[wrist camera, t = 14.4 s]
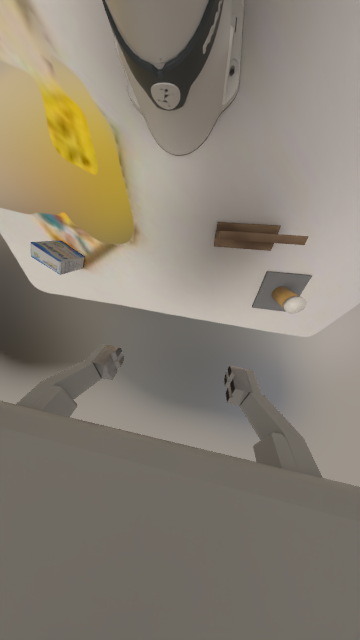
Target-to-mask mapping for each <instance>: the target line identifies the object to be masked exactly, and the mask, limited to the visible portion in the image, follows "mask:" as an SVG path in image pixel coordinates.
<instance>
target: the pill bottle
mask: <svg viewBox="0 0 360 640" xmlns="http://www.w3.org/2000/svg"><path fill="white" fill-rule="evenodd" d="M271 296H272V298H273V299H274V300H275V301H276V302H277V303H279V304H280V305H281V306H282V307H283V309H284V310H285V311H286V312H288V313H297V312H299V311H301V310H303V309H304V307H305V306H306V300H305V299H303V298H302V297H300V296H298V295H296V294H295V293H293V292H292V291H290V290H289V289H287V288H286V287H278V288H276V289H274V290H273V292H272V294H271Z"/></svg>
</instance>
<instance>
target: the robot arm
mask: <svg viewBox="0 0 360 640" xmlns="http://www.w3.org/2000/svg"><path fill="white" fill-rule="evenodd" d="M102 1H103V4H104V8H105V11H106V13H107V16H108V19H109V22H110V25H111V28H112V31H113V33H114V36H115V46H116V50H117V53H118V56H119V58H120V61H121V63H122V66H123V69H124V71H125V74H126V76H127V89H128V94H129V96H130V99H131V101H132V103H133V104H134V106H135V107H136V108H137V109H138V110H139V111H140V112H141V114H142V115H143V116H144V118H145V120H146V122H147V124H148V127H149V129H150V131H151V133H152V135H153V137H154V139H155V140H156V141H157V143H158V144H159V145H160V146H161V147H162V148H163V149H164V150H166V151H167V152H169V153H171V154H174V155H184V154H188V153H190V152H192V151H194V150H195V149H196V148H198V147H199V146H200V145H201V144H202V143H203V142H204V140H205V139H206V138H207V136H208V135H209V133H210V132H211V130H212V128H213V126H214V124H215V122H216V120H217V118H218V117H219V115H220V114H221V112H222V111H223V110H224V109H225V108H226V107H227V106H228V105H229V104H230V103H231V102H232V101H233V100H234V98H235V96H236V94H237V92H238V88H239V79H240V63H241V47H242V31H243V14H244V0H102ZM231 70H233V71H234V74H233V76H230V75H229V72H230V71H231ZM121 352H122V350H121V348H119V347H113V346H108V345H102V344H101V345H99V346H98V347H97V348H96V350H95V351H94V352H93V353H92V354H91V355H90V356H89V357H88V358H87V359H86V360H85V361H81V362H80V363H78V364H75V365H73V366H71V367H69V368H67V369H66V370H64V371H61V372H60V373H57V374H55V375H53V376H51V377H49V378H47V379H46V380H43V381H41V382H40V383H39V384H38V385H37V386H36V387H35V388H33V389H32V390H31V391H30V392H29V393H28V394H27V395H26V396H25V397H23V398H22V399H21V400H20V401H19V402H18V403H17V404H12V403H8V402H3V401H0V640H360V487H358V486H354V485H350V484H346V483H342V482H337V481H333V480H329V479H325V478H322V476H321V473H320V471H319V469H318V467H317V465H316V463H315V461H314V459H313V457H312V455H311V452H310V450H309V448H308V446H307V444H306V442H305V440H304V438H303V437H302V436H301V435H300V434H299V433H298V431H297V430H296V429H295V428H294V427H293V426H292V425H291V424H290V423H289V422H288V421H287V420H286V418H285V417H284V416H283V415H282V414H281V413H280V412H279V411H278V410H277V409H276V407H275V406H274V405H273V404H272V403H271V402H270V401H269V400H268V399H267V398H266V397H265V395H262V394H261V391H260V388H259V385H258V383H257V380H256V377H255V374H254V372H253V370H250V369H244V368H238V367H232V366H229V367H228V372H227V373H226V374H225V378H224V382H225V383H224V384H225V387H226V388H227V391H226V400H227V403H230V404H235V405H239V406H240V408H241V409H242V411H243V412H244V414H245V416H246V417H247V419H248V420H249V422H250V424H251V425H252V427H253V429H254V430H255V432H256V433H257V435H258V437H259V438H260V440H261V441H259V442H258V443H256V444H255V445H254V446H253V448H254V452H255V457H256V462H254V461H250V460H246V459H241V458H237V457H233V456H229V455H225V454H221V453H216V452H212V451H207V450H204V449H199V448H195V447H191V446H187V445H183V444H179V443H175V442H170V441H166V440H162V439H158V438H153V437H150V436H145V435H141V434H136V433H133V432H128V431H124V430H120V429H116V428H112V427H108V426H104V425H99V424H95V423H91V422H87V421H83V420H79V419H74V418H70V416H71V414H72V413H73V411H74V410H75V409H76V407H77V403H76V402H75V401H74V400H73V399H75V398H76V397H78V396H79V395H80V394H81V393H83V392H84V391H86V390H87V389H88V388H89V387H91V386H92V385H94V384H95V383H96V382H97V381H99V380H100V379H101V378H104V379H110V380H112V379H113V378H114V376H115V375H116V373H117V369H118V368H119V367H121V365H122V363H123V361H124V356H123V354H122V353H121Z"/></svg>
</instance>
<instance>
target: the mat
mask: <svg viewBox="0 0 360 640" xmlns="http://www.w3.org/2000/svg"><path fill="white" fill-rule="evenodd" d="M311 277H312V276H311V275H301V274H290V273H280V272H269V271H267V272H266V275H265V277H264V280H263V282H262V284H261V287H260V289H259V291H258V294H257V296H256V298H255V301H254V303H253V305H252V307H253V308H261V309H269V310H277V311H285V310H284V309H283V307H282V306H281V305H280V304H279V303H277V302H276V301H275V300H274V299H273V298H272V296H271V294H272V292H273V290H274V289H276V288H278V287H286V288H287V289H289V290H290V291H292V292H293V293H295V294H296V295H298V296H300V294H301V293H302V291H303V290H304V288H305V286H306V285H307V283H308V282H309V280H310V278H311Z"/></svg>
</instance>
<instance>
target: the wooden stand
mask: <svg viewBox="0 0 360 640" xmlns="http://www.w3.org/2000/svg"><path fill="white" fill-rule="evenodd" d="M280 227H281V226H278V225H260V224H243V223H226V222H218V224H217V230H216V236H215V241H214V246H217V247H230V248H243V249H256V250H269V251H271V249H272V246H273V244H274V243H284V244H298V245H305V243H306V241H307V239H308V237H309V236H294V235H279V234H278V232H279V229H280Z"/></svg>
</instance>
